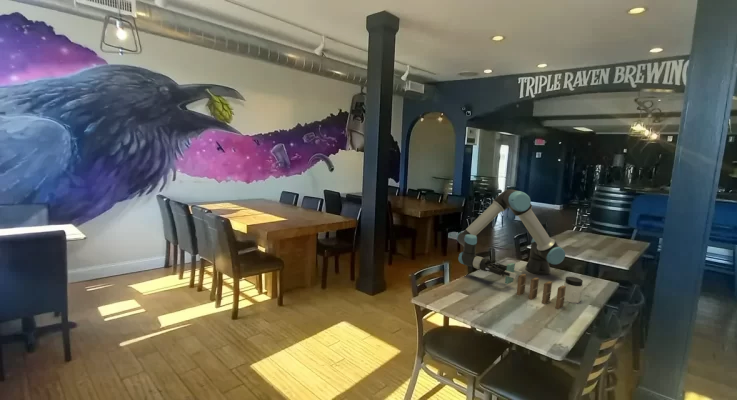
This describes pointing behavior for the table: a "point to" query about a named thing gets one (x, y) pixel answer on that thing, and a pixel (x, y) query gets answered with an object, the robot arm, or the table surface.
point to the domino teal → (511, 269)
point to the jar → (573, 289)
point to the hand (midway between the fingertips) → (518, 275)
